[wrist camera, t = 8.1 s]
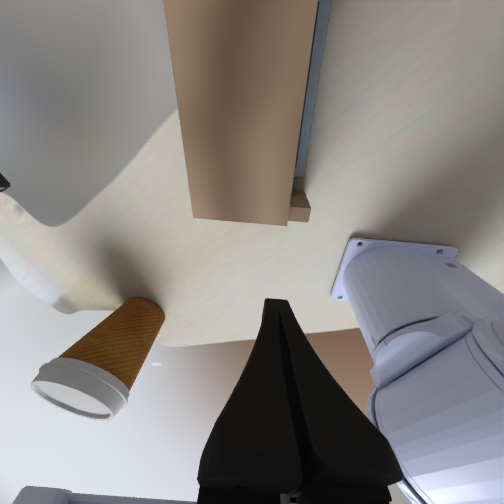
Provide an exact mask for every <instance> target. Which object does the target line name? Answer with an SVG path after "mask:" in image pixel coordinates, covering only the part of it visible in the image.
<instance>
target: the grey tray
mask: <svg viewBox="0 0 504 504" xmlns="http://www.w3.org/2000/svg"><path fill="white" fill-rule="evenodd" d="M331 2H332V0H318V4H317V12H316V19H315V26H314V33H313V40H312V48H311V55H310V62H309V69H308V77H307V84H306V91H305V98H304V106H303V113H302V120H301V127H300V135H299V142H298V149H297V156H296V163H295V171H294V177H303V174H304V168H305V162H306V156H307V150H308V144H309V137H310V131H311V125H312V119H313V113H314V107H315V100H316V94H317V88H318V82H319V76H320V70H321V64H322V57H323V51H324V45H325V39H326V33H327V27H328V21H329V14H330V8H331Z"/></svg>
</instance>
